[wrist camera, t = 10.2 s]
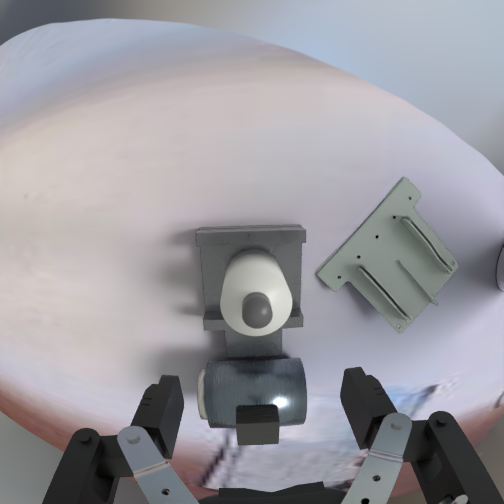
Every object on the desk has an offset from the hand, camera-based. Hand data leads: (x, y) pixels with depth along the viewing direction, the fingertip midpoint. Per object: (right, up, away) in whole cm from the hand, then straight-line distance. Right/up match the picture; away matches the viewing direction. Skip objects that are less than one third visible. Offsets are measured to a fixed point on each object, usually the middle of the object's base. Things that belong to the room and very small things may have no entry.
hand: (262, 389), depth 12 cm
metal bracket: (+16, +6, +18) cm, 25 cm away
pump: (0, +4, +16) cm, 17 cm away
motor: (-1, -2, +19) cm, 19 cm away
